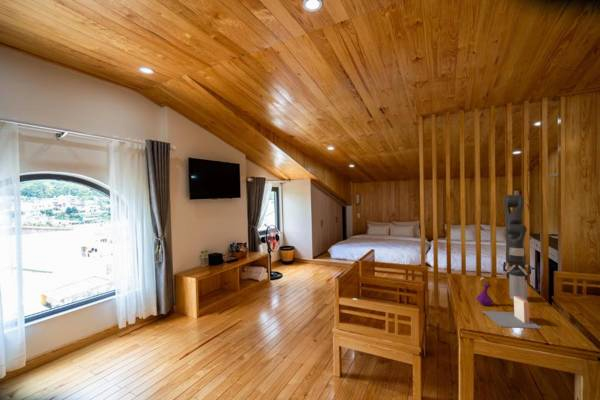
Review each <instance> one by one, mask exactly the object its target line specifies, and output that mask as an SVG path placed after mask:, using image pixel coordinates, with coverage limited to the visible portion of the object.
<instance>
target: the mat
mask: <svg viewBox="0 0 600 400" xmlns="http://www.w3.org/2000/svg"><path fill="white" fill-rule="evenodd" d="M482 313H484V315H485V316H487V317H488V318H490V320H492V321H493V322H494V323H495V324H496V325H498V326H499V327H500V328H517V329H531V330H532V329H537V330H542V329H543V327H541V326H539V325H538V324H536V323H535V322H534V321H532V320H531V319H529V323H524V322H522V321H521V320H519V319H518V318H517V317H515V316H514V312H511V311H490V310H488V311H487V310H486V311H485V310H482Z"/></svg>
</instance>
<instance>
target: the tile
mask: <svg viewBox="0 0 600 400" xmlns="http://www.w3.org/2000/svg"><path fill="white" fill-rule="evenodd" d="M529 306H530V305H529V301H528V300H527V301H526V300H524V299H522V298H521V297H519V296H514V300H513V309H514V310H513V311H514V316H515V317H517V318H518V319H519V320H521V321H522V322H524V323H529V320H530V309H529V308H530V307H529Z"/></svg>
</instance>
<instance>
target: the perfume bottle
mask: <svg viewBox="0 0 600 400" xmlns="http://www.w3.org/2000/svg"><path fill="white" fill-rule="evenodd" d="M482 280H485V282H484V283H483V285H482V286H483V287H484V288H483V290H482V291H481V292H480V294H479V295H477V296H476V299H477V300H478V302H479V303H480V304H481V306H484V307H485V306H486V307H490V306H491V305H492V304H494V301H493V300H492V298H491V297H490V296H489V294H488V290H489V288H490V287H491V284H490V282H489V281H488V280H487V279H486V278H485V277H483V276H482V277H480V280H479V281H482Z"/></svg>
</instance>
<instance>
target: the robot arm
mask: <svg viewBox="0 0 600 400" xmlns="http://www.w3.org/2000/svg"><path fill="white" fill-rule="evenodd" d="M503 199H504V203H503V204H504V212H505V240H506V243H505V261H503V265H502V266H503V267H502V268H503V269H502V270H503V272H505V273H506V278H508V281H509V283H508V284H509V298H510V300H513V301H514V296H519V297H521V298H522V299H524V300H526V301H528V288H527V287H528V285H527V284H528V283H527V281H528V280H529V279H528V276H529V275H532V268H531V267H532V266H531V264H527V263H526V262H527V255H526V253H525V250H524V239H525V236H526V233H527V227H526V225H524V224H523V212H524V207H525V206H524V204H525V200H524V196H523V195H522V194H509V195H504V198H503ZM511 208H514V209H513V210H511ZM507 266H509V267H508V269H507V268H506V267H507ZM527 270H528V271H527Z"/></svg>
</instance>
